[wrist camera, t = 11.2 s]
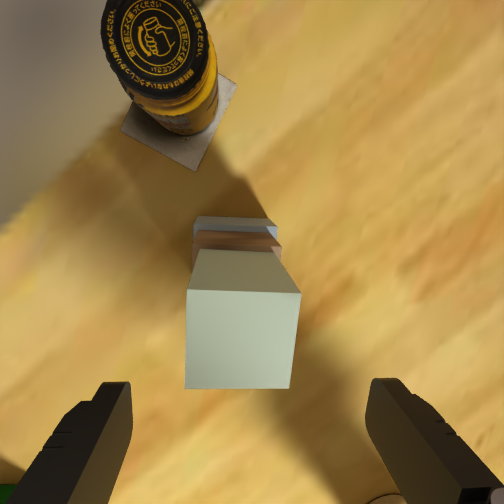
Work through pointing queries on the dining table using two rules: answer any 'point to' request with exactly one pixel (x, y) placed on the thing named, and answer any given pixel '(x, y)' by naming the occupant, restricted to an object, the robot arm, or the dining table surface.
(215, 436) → the dining table surface
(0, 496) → the milk carton
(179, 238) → the dining table surface
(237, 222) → the tower base
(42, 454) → the robot arm
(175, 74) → the condiment
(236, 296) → the green block
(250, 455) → the dining table surface
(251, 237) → the tower top
